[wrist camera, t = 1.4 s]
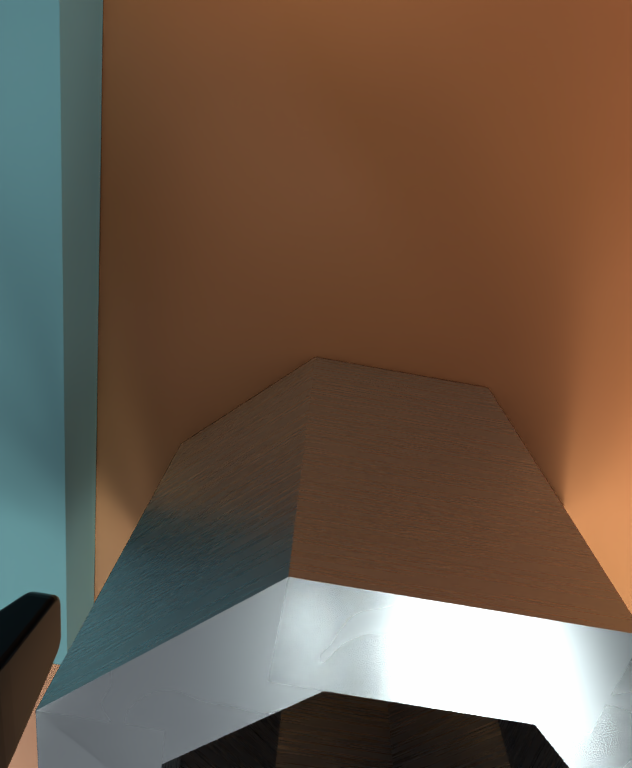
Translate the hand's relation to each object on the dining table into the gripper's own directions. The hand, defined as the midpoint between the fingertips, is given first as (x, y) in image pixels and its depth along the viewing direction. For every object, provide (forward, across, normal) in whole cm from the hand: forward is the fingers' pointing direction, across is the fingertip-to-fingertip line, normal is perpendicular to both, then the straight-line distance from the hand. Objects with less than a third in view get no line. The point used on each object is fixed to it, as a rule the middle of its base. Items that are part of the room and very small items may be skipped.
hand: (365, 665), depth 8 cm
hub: (+3, 0, 0) cm, 3 cm away
